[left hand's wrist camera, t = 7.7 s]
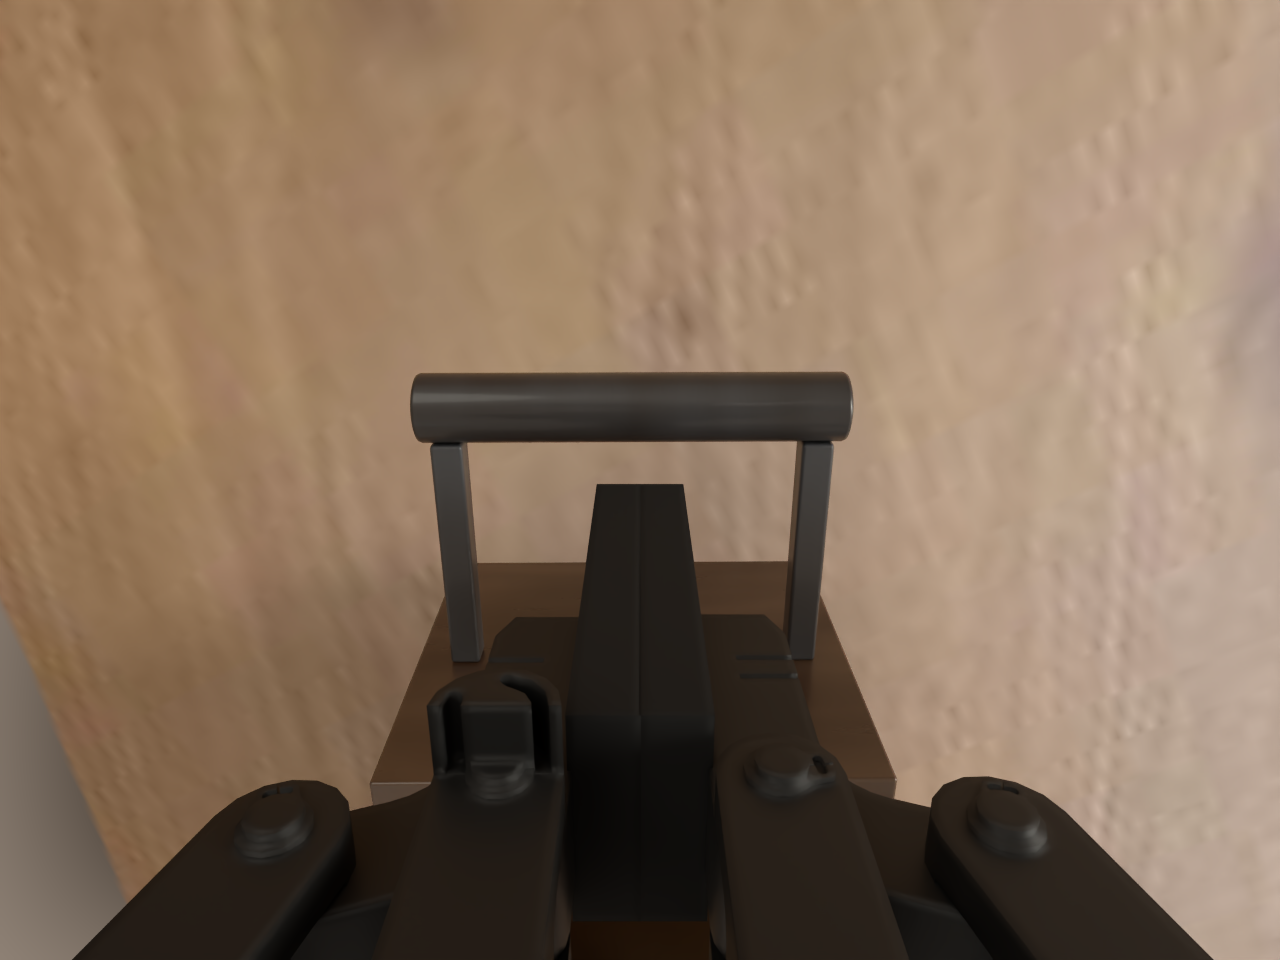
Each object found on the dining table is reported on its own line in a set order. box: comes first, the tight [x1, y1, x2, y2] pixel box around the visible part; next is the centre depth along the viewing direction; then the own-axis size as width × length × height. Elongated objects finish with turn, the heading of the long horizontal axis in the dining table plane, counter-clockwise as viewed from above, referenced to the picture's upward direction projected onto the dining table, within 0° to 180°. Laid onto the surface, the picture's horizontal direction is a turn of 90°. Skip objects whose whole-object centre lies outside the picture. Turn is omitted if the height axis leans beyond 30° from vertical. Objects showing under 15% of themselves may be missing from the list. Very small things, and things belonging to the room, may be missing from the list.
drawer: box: [370, 372, 897, 960], centre depth 20 cm, size 22×9×8 cm, turn 0°
